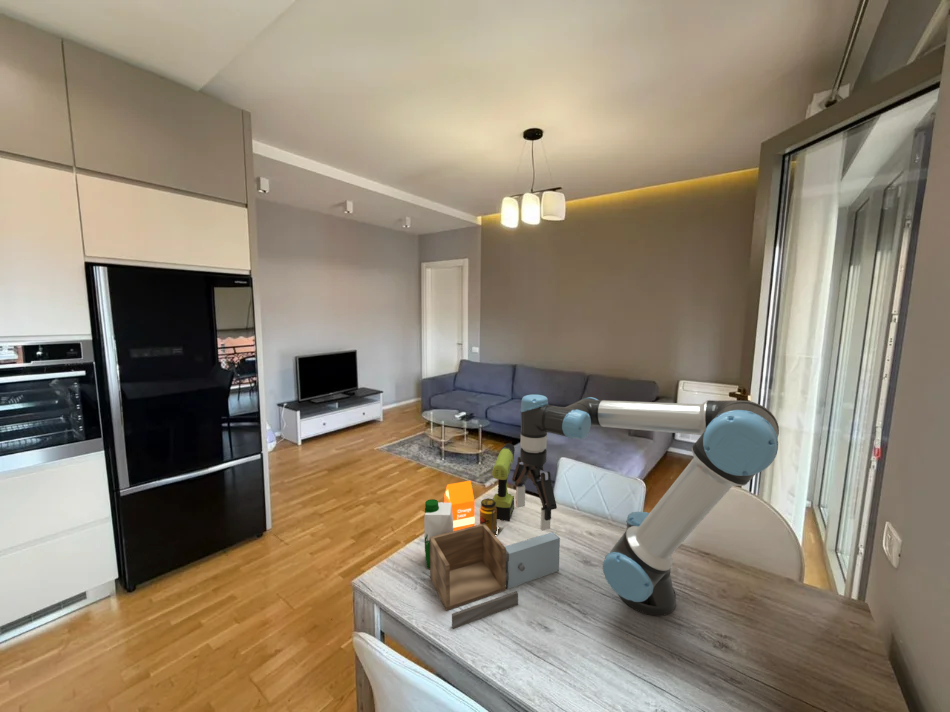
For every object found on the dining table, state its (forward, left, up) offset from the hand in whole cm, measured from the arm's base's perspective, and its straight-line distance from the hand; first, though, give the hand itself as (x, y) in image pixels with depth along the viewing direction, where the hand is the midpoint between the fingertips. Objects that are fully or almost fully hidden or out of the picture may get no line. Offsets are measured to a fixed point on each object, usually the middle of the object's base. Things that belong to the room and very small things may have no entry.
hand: (532, 517), depth 114 cm
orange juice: (+28, +12, -19) cm, 36 cm away
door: (0, 0, -19) cm, 19 cm away
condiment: (+26, +1, -19) cm, 32 cm away
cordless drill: (+38, -12, -19) cm, 44 cm away
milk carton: (+18, +23, -19) cm, 35 cm away
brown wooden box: (+2, +19, -19) cm, 27 cm away
